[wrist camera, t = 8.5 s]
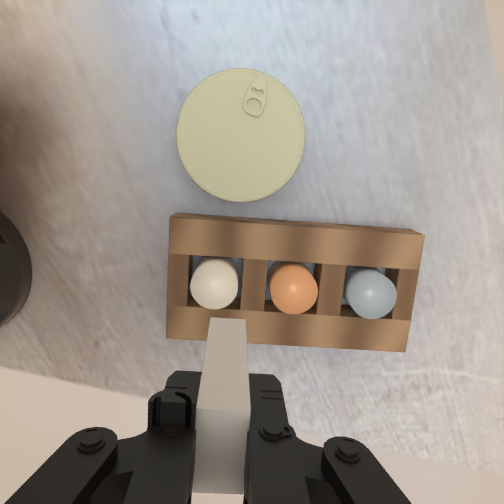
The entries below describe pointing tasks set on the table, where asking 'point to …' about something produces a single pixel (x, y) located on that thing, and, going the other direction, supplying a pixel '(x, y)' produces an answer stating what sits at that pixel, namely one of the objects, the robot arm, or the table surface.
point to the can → (240, 135)
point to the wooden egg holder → (295, 250)
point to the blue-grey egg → (368, 292)
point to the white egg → (215, 282)
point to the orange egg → (292, 287)
